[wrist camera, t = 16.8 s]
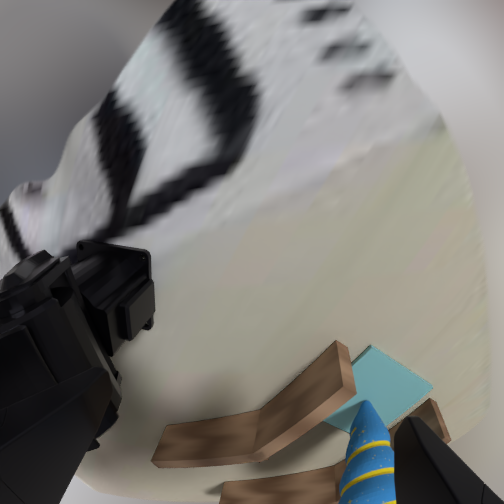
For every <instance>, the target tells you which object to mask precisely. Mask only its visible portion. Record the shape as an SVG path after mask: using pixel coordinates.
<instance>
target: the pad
mask: <svg viewBox="0 0 504 504" xmlns="http://www.w3.org/2000/svg"><path fill="white" fill-rule="evenodd" d="M351 365H352V370H353V375H354V381H355V386H356V391H357V394H356V395H355V396H354V397H352V398H351V399H350V400H349V401H347V402H346V403H345V404H344V405H342V406H341V407H340V408H339V409H337V410H336V411H335V412H333V413H332V414H331V415H329V416H328V417H327V418H325V419H324V420H323V421H324V422H326V423H328V424H330V425H333V426H335V427H337V428H339V429H341V430H344V431H346V432H348V433H350V427H351V424H352V422H353V420H354V418H355V417H356V415H357V413H358V411H359V408H360V406H361V404H362V402H363V401H366V400H368V401H370V402H371V404H372V405H373V407H374V409H375V410H376V412H377V413H378V415H379V416H380V418H381V420H382V421H383V423H384V424H385V426H387V425H388V424H390V423H391V422H392V421H394V420H395V419H396V418H398V417H399V416H400V415H401V414H403V413H404V412H405V411H406V410H408V409H409V408H410V407H411V406H413V405H414V404H415V403H416V402H417V401H419V400H420V399H421V398H422V397H423V396H425V395H426V394H427V393H428V392H429V391H430V390H431V389H433V386H432V385H431V384H430V383H428V382H427V381H425V380H424V379H422V378H421V377H419V376H417V375H416V374H414V373H413V372H411V371H410V370H408V369H407V368H405V367H404V366H402V365H401V364H399V363H398V362H396V361H395V360H393V359H392V358H390V357H389V356H387V355H386V354H384V353H383V352H381V351H380V350H378V349H377V348H375V347H374V346H372V345H370V346H369V347H368V348H367V349H366V350H365V351H364V352H363V353H362V354H361V355H360V356H359V357H357V358H356V359H355V360H354V361H353V362H352V363H351Z"/></svg>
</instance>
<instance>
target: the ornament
mask: <svg viewBox="0 0 504 504" xmlns="http://www.w3.org/2000/svg"><path fill="white" fill-rule="evenodd" d="M346 466H347V467H346V469H345V471H344V473H343V475H342V478H341V481H340V484H339V492H340V496H341V498H340V500H339V503H338V504H396V495H395V484H394V451H393V450H392V448H391V447H390V434H389V432H388V429H387V428H386V426H385V424H384V423H383V421H382V420H381V418H380V416H379V415H378V413H377V412H376V410H375V409H374V407H373V405H372V404H371V402H370V401H368V400H366V401H363V402H362V404H361V406H360V408H359V411H358V413H357V415H356V417H355V418H354V420H353V422H352V424H351V427H350V441H349V444H348V447H347V451H346Z"/></svg>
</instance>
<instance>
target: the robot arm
mask: <svg viewBox="0 0 504 504" xmlns="http://www.w3.org/2000/svg"><path fill="white" fill-rule="evenodd" d="M82 245H83V247H84V248H83V247H82ZM76 247H77V258H78V262H77V263H75V264H73V265H72V264H71V261H70V259H69V256H66V257H62V258H59V257H56V258H54V256H51V255H50V254H49V253H48V252H47V251H45V250H42V251H39V252H37V253H35V254H33V255H31V256H29V257H27V258H26V259H24V260H22V261H21V262H19V263H18V264H16V265H15V266H14V267H13V268H12V269H11V270H10V271H9V272H8V273H7V274H6V275H5V276H4V277H3V279H1V280H0V504H59V503H60V501H61V499H62V497H63V495H64V493H65V491H66V489H67V487H68V485H69V484H70V482H71V479H72V478H73V476H74V474H75V472H76V470H77V468H78V466H79V464H80V462H81V461H82V459H83V457H84V455H85V453H86V452H87V451H91V450H94V449H97V448H99V446H100V444H99V443H98V441H97V440H96V439H98V438H99V437H101V436H102V435H103V434H104V433H105V432H107V431H108V430H109V429H110V428H111V427H112V426H113V425H114V423H115V422H116V421H117V419H118V417H119V415H118V413H117V411H118V408H119V405H120V402H121V399H122V396H121V388H120V384H121V380H122V377H121V375H120V374H119V372H118V371H116V369H115V367H114V365H113V363H112V361H111V359H110V357H112V356H113V355H114V354H115V353H116V352H117V350H118V349H119V348H120V347H121V346H122V344H123V343H124V342H125V341H126V340H127V341H131V340H132V339H134V337H135V336H136V335H137V333H138V332H139V331H140V330H141V329H145V330H150V329H151V328H152V326H153V324H154V322H153V313H154V312H155V296H154V282H153V280H152V279H151V255H150V253H149V252H148V251H147V250H145V249H139V248H133V247H126V246H120V245H114V244H108V243H101V242H95V241H89V240H80V241H79V242H77V246H76ZM142 255H144V256H145V258H146V259H143V258H142ZM71 265H72V266H71ZM146 322H147V323H148V324H149V325H148V324H146ZM109 356H110V357H109ZM394 484H395V495H396V504H504V501H503V500H501V499H500V498H499V497H498V496H497V495H496V494H495V493H494V492H493V491H492V490H491V489H490V488H489V487H488V486H487V485H486V484H484V482H483V481H482V480H481V479H480V478H479V477H478V476H477V475H476V474H475V473H474V472H473V471H472V470H471V469H470V468H469V467H468V466H467V465H466V464H465V463H464V462H463V461H462V460H461V459H460V457H458V456H457V454H456V453H455V452H454V451H453V450H452V449H451V448H450V447H449V446H448V445H447V444H446V443H445V442H444V441H443V440H442V439H441V438H440V437H439V436H438V435H437V434H436V433H435V432H434V431H433V430H432V429H431V428H430V427H429V426H428V425H427V424H426V423H425V422H424V421H423V420H422V419H421V418H420V417H419V416H406V417H405V418H404V419H403V421H402V422H401V424H400V426H399V427H398V429H397V430H396V432H395V435H394Z"/></svg>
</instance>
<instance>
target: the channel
mask: <svg viewBox="0 0 504 504" xmlns="http://www.w3.org/2000/svg"><path fill="white" fill-rule="evenodd" d="M356 394H357V391H356V386H355V381H354V375H353V370H352V365H351V360H350V355H349V351H348V347H346V346H345V345H343V344H341V343H340V342H338V341H337V340H336V341H335V342H334V343H333V344H332V345H331V346H330V347H329V348H328V349H327V350H326V351H325V352H324V353H323V354H322V355H320V356H319V357H318V358H317V359H316V360H315V361H314V362H313V363H312V364H311V365H310V366H309V367H308V368H307V369H306V370H305V371H304V372H302V373H301V374H300V375H299V376H298V377H297V378H296V379H295V380H294V381H293V382H292V383H290V384H289V385H288V386H287V387H286V388H285V389H284V390H283V391H281V392H280V393H279V394H278V395H277V396H276V397H274V398H273V399H272V400H271V401H270V402H269V403H267V404H266V405H265V406H264V407H263V408H262V409H260V410H256V411H252V412H247V413H242V414H237V415H232V416H227V417H221V418H215V419H209V420H203V421H196V422H189V423H182V424H174V425H167V426H166V428H165V431H164V433H163V435H162V437H161V439H160V442H159V444H158V446H157V448H156V451H155V453H154V455H153V457H152V459H151V462H152V463H153V464H155V465H156V466H157V467H158V468H188V467H208V466H221V465H232V464H241V463H249V462H256V461H257V462H259V463H260V462H261V461H263V460H269V457H270V456H271V455H273V454H275V453H276V452H278V451H279V450H281V449H282V448H284V447H285V446H287V445H288V444H290V443H292V442H293V441H294V440H296V439H297V438H299V437H300V436H302V435H303V434H305V433H306V432H308V431H309V430H310V429H312V428H313V427H315V426H316V425H317V424H319V423H320V422H321V421H323V420H324V419H325V418H327V417H328V416H329V415H331V414H332V413H333V412H335V411H336V410H337V409H339V408H340V407H341V406H342V405H344V404H345V403H346V402H347V401H349V400H350V399H351V398H352V397H354V396H355V395H356ZM408 416H419V417H420V418H421V419H422V420H423V421H424V422H425V423H426V424H427V425H428V426H429V427H430V428H431V429H432V430H433V431H434V432H435V433H436V434H437V435H438V436H439V437H440V438H441V439H442V440H443V441H444V442H445V443H446V444H447V443H449V442H450V441H451V438H450V435H449V433H448V430H447V428H446V425H445V423H444V420H443V418H442V415H441V413H440V410H439V408H438V405H437V403H436V402H435V401H434V400H432V399H430V398H429V399H428V400H427V401H426V402H425V403H423V404H422V405H421V406H420V407H418V408H417V409H416V410H415V411H414V412H412V413H411V414H410V415H408ZM402 421H403V420H402ZM402 421H401V422H402ZM401 422H399V423H398V424H397V425H395V426H394V427H393V428H391V429H390V430H389V431H388V432H389V434H390V447H391V448H392V450H393V451H394V435H395V432H396V430H397V429H398V427H399V426H400V424H401ZM346 467H347V466H346V459H345V460H343V461H341V462H340V463H338V464H336V465H335V466H330V467H326V468H322V469H317V470H312V471H307V472H302V473H296V474H290V475H284V476H277V477H270V478H262V479H253V480H243V481H231V482H224V485H223V490H222V494H221V498H220V502H219V504H338V503H339V500H340V498H341V496H340V492H339V484H340V481H341V478H342V475H343V473H344V471H345V469H346Z"/></svg>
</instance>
